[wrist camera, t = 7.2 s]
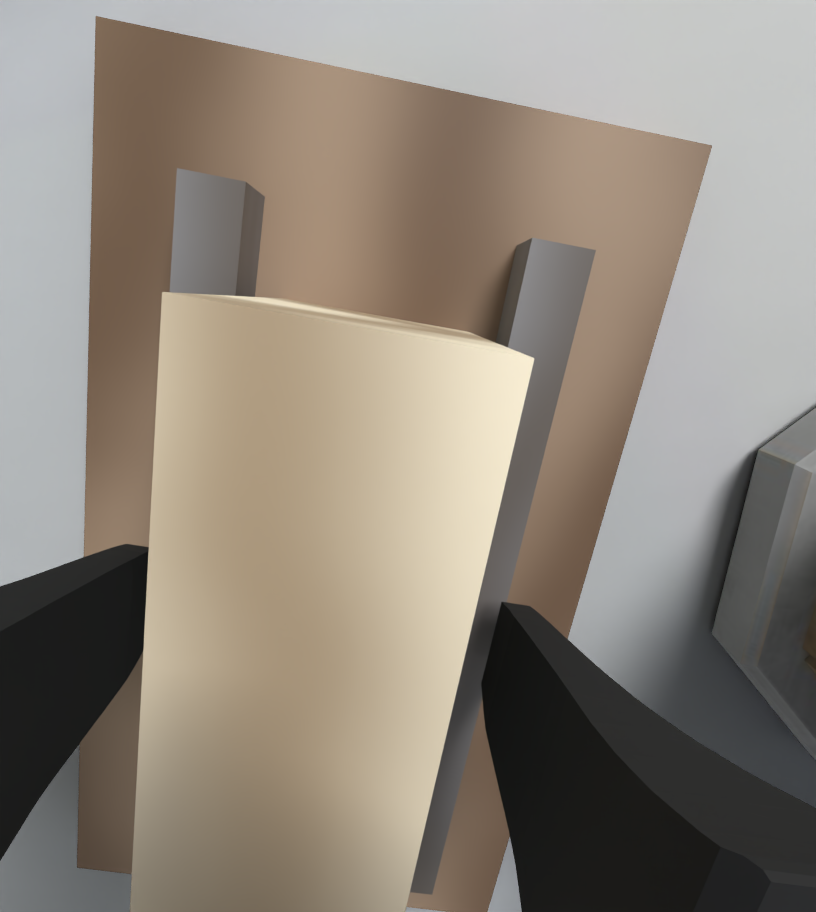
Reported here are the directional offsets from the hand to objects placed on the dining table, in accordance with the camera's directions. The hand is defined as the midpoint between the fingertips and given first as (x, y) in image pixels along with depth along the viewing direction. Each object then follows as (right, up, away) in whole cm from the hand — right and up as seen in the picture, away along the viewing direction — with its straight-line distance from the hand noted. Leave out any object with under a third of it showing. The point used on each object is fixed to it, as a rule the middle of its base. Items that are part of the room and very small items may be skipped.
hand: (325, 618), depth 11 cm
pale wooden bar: (0, +1, +2) cm, 2 cm away
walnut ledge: (0, +1, +3) cm, 3 cm away
